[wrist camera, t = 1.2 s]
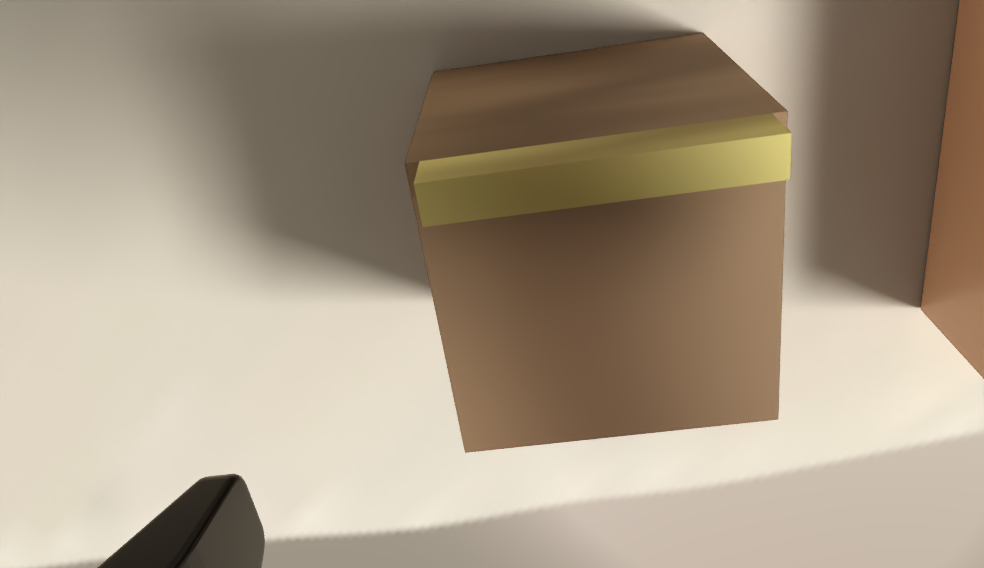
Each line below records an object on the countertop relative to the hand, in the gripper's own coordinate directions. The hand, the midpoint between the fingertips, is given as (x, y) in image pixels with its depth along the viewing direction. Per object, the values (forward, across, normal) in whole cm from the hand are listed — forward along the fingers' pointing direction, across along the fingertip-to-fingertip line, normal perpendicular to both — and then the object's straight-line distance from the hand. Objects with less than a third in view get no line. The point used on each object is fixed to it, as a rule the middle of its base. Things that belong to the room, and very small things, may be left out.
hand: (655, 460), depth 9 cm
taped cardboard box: (+8, 0, 0) cm, 9 cm away
